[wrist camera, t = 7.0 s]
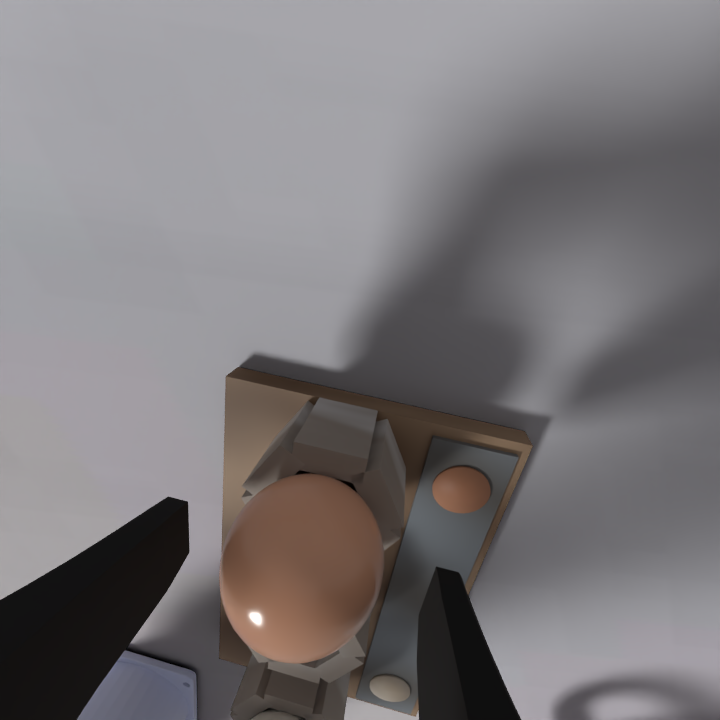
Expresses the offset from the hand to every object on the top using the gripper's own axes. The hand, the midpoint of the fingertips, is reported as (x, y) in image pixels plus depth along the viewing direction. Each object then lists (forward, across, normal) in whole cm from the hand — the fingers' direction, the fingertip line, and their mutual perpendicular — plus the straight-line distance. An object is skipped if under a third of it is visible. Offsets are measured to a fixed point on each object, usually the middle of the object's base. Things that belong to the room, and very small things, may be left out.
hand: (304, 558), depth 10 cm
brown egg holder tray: (+6, -1, +7) cm, 9 cm away
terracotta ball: (0, 0, 0) cm, 0 cm away
